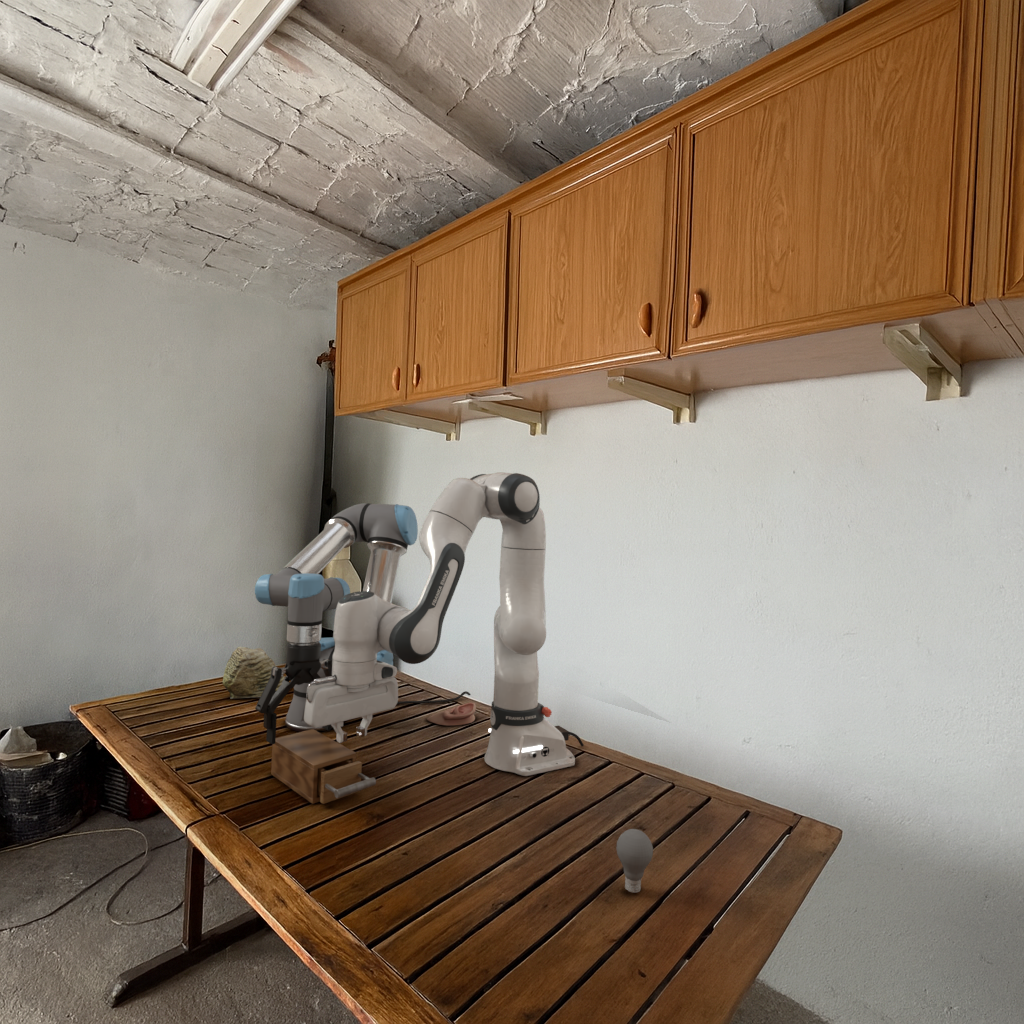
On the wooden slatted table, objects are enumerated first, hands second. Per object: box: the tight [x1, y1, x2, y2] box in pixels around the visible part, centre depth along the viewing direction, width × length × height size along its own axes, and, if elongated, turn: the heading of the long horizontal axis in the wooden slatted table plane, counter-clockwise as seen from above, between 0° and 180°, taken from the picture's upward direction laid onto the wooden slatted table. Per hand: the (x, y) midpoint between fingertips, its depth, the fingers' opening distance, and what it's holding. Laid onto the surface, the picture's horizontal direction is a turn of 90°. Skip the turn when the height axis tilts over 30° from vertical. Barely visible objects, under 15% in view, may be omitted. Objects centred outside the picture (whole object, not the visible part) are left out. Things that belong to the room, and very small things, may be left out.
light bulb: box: [615, 828, 654, 894], centre depth 106 cm, size 6×6×10 cm
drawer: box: [317, 759, 377, 805], centre depth 136 cm, size 23×9×6 cm, turn 46°
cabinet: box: [270, 729, 357, 805], centre depth 140 cm, size 19×10×8 cm, turn 47°
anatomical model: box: [426, 702, 477, 726], centre depth 183 cm, size 13×4×12 cm
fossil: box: [222, 646, 286, 699], centre depth 198 cm, size 9×18×15 cm, turn 132°
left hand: (299, 735), depth 144 cm, fingers open, 13 cm apart
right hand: (351, 738), depth 130 cm, fingers open, 3 cm apart
